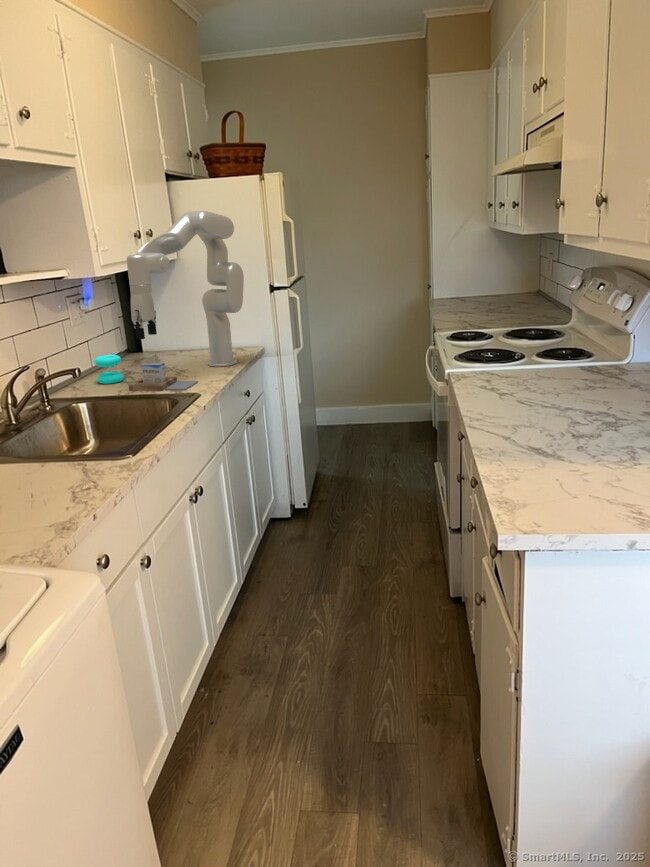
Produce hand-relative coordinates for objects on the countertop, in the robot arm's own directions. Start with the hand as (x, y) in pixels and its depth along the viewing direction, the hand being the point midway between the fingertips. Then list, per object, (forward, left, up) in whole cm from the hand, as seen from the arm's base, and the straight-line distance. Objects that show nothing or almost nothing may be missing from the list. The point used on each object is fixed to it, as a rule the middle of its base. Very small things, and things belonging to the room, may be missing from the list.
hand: (146, 336), depth 241 cm
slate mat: (0, +12, -19) cm, 22 cm away
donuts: (-7, -21, -19) cm, 30 cm away
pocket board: (0, 0, -19) cm, 19 cm away
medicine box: (-1, +1, -19) cm, 19 cm away
